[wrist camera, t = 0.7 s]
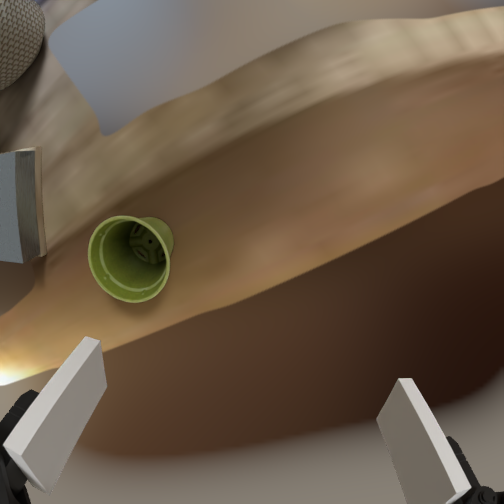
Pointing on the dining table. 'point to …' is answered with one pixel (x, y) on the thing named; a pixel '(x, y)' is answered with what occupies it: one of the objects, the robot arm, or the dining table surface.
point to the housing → (18, 207)
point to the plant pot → (131, 257)
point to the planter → (19, 38)
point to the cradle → (38, 197)
